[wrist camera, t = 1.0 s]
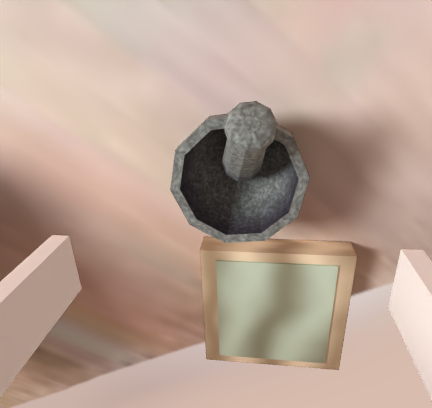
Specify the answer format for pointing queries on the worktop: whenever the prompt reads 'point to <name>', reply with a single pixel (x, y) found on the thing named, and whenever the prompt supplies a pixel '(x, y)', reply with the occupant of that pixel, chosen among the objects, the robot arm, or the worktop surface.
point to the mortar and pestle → (239, 175)
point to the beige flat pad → (276, 300)
